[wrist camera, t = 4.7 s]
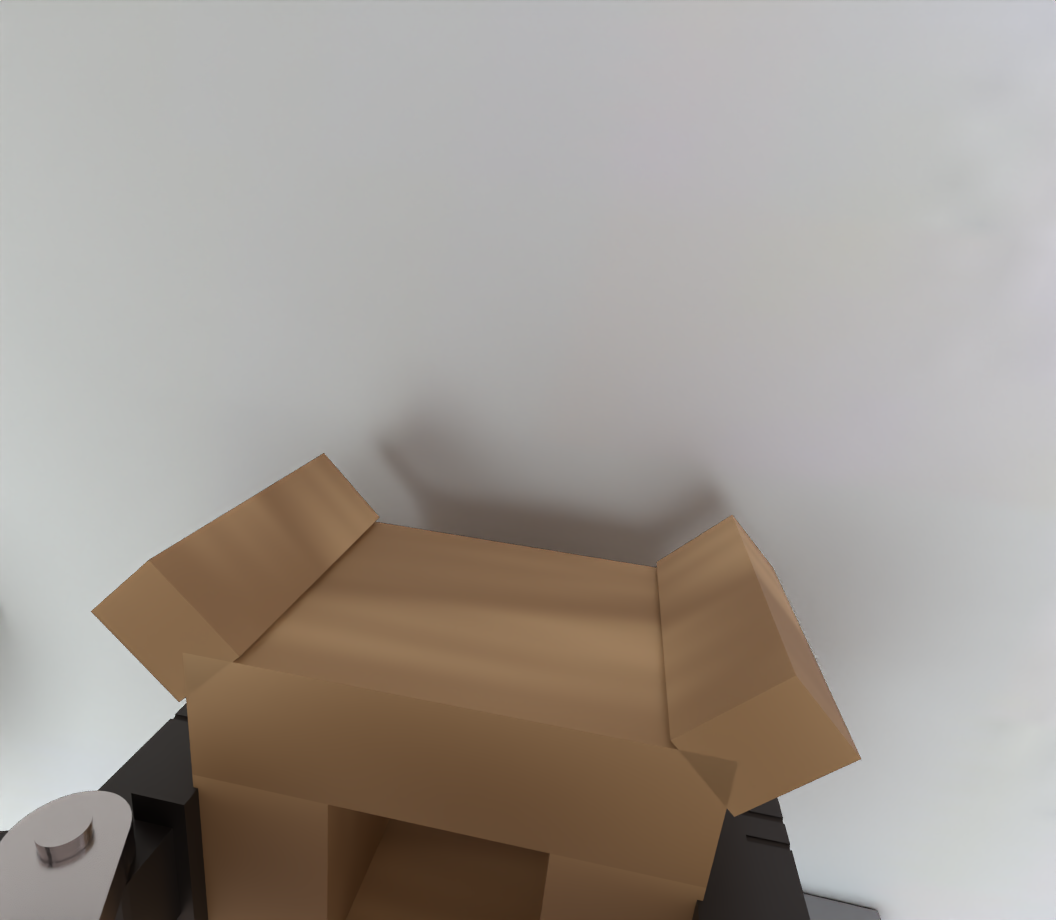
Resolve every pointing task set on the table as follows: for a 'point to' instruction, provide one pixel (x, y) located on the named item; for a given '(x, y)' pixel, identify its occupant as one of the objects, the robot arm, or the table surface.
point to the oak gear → (469, 712)
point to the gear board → (837, 910)
